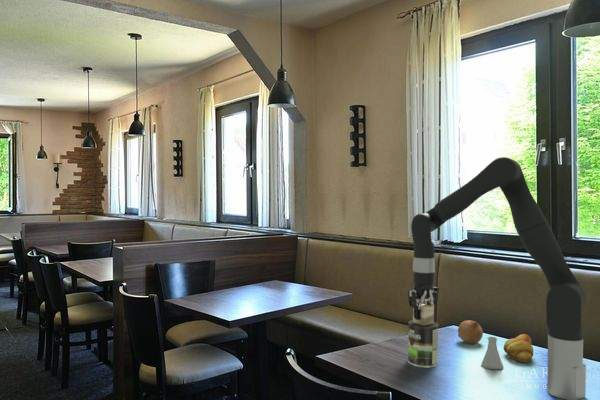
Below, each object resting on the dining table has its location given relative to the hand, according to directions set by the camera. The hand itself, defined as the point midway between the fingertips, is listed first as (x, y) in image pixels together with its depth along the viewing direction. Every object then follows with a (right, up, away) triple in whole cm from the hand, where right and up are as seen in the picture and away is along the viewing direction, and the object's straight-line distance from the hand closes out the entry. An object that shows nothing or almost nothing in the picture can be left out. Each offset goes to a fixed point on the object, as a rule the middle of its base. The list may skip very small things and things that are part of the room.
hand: (423, 318), depth 172 cm
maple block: (0, -2, 0) cm, 2 cm away
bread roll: (+36, -16, +6) cm, 40 cm away
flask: (+23, -16, -3) cm, 28 cm away
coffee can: (0, -16, 0) cm, 16 cm away
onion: (+25, -16, +24) cm, 38 cm away
